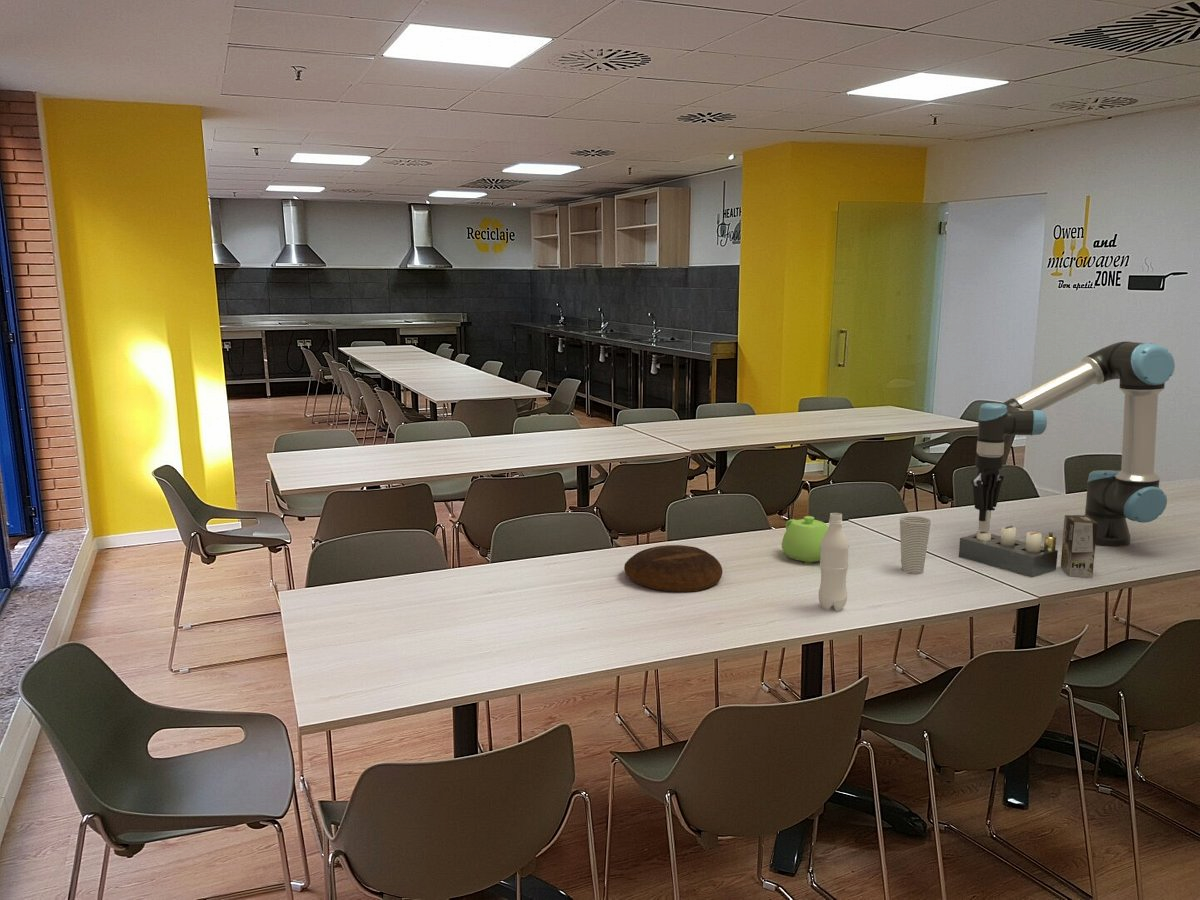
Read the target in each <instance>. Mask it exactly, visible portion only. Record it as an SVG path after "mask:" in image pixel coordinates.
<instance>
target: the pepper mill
mask: <svg viewBox="0 0 1200 900" xmlns="http://www.w3.org/2000/svg"><path fill="white" fill-rule="evenodd" d="M1043 540H1044V542H1043V547H1044V550H1045V551H1050V552H1053V551H1055V550H1056V544H1057V536H1055V535H1054V533H1053V532H1052V531H1049V532H1048V535H1044V539H1043Z"/></svg>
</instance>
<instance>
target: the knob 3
mask: <svg viewBox="0 0 1200 900" xmlns="http://www.w3.org/2000/svg"><path fill="white" fill-rule="evenodd" d="M1042 537H1043V535H1042V533H1040V532H1039V531H1028V532H1026V537H1025V542H1026V548H1025V551H1027V552H1031V553H1035V554H1037V553H1040V552H1041V546H1042V541H1043V540H1042Z"/></svg>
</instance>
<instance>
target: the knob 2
mask: <svg viewBox="0 0 1200 900" xmlns="http://www.w3.org/2000/svg"><path fill="white" fill-rule="evenodd" d="M1016 535H1017V527H1015V526H1013V525H1003V526H1001V531H1000V536H1001V541H1000V545H1003V546H1007V547H1013V546H1015V540H1017V539H1016V537H1017V536H1016Z"/></svg>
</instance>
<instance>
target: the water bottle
mask: <svg viewBox="0 0 1200 900" xmlns="http://www.w3.org/2000/svg"><path fill="white" fill-rule="evenodd" d="M828 524H829V526H828V530H827V532H826V533H825V535H824V537H823V538H822V541H821V545H820V546H821V557H820V561H819V562H820V563H819V568H820V585H819V589H818V602H819V604H820V605H821V607H822V608H823V609H824V610H826V611H830V610H831V607H832V606H833V608H834V610H835V611H841V610H842V609H843V608H844V607H845V606H846V604H847V600H848V592H847V573H848V567H849V549H850V544H849V543H850V542H849V539H848V538H847V535H846V534H845V532H844V529H843V525H844V523H843V514H842V513H841V512H840V513H839V512H831V513H830V514H829V521H828Z"/></svg>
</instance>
